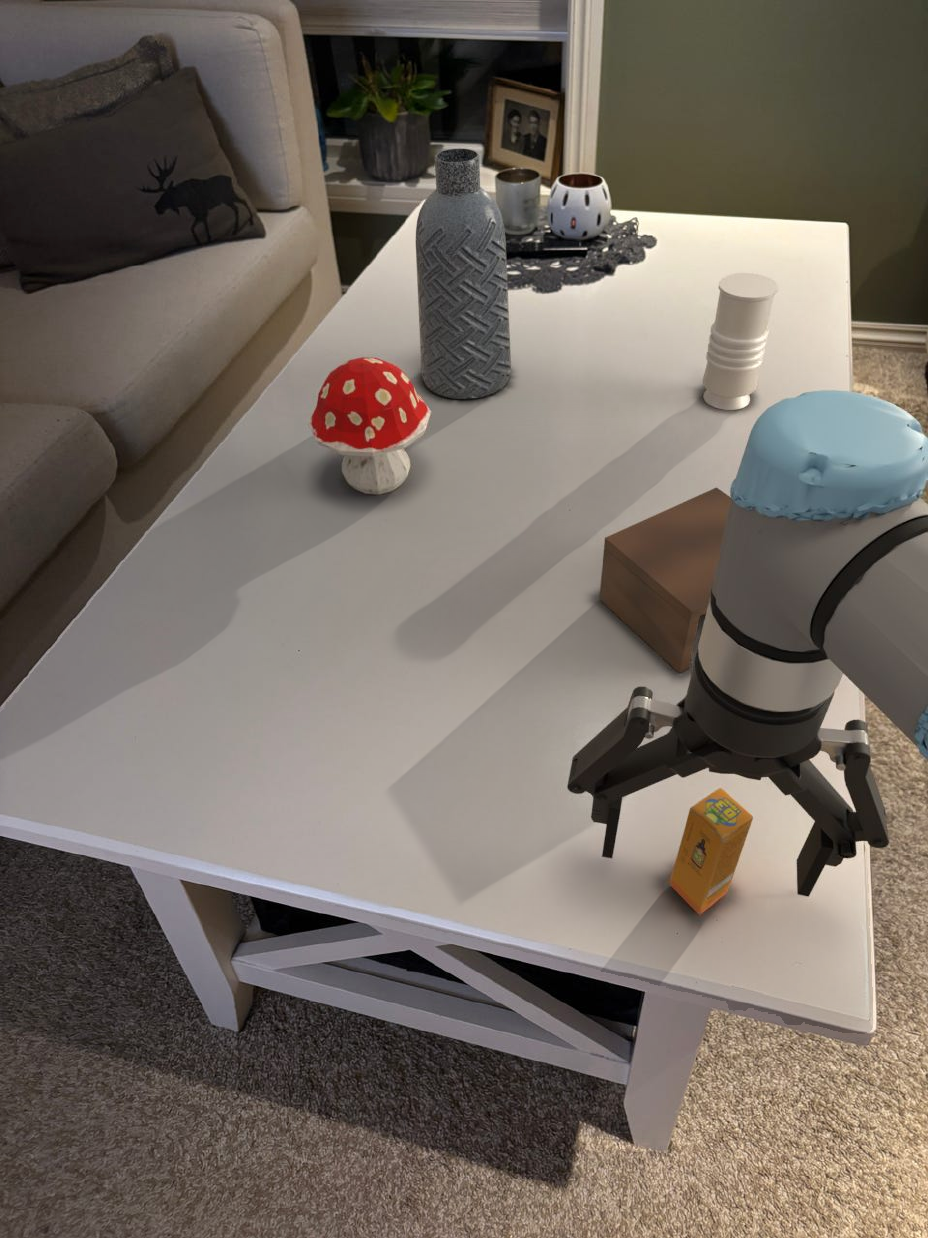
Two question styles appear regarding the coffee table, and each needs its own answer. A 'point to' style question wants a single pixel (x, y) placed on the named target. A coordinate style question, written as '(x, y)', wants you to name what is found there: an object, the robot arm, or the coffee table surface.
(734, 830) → the supplement box
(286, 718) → the coffee table surface
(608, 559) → the shelf
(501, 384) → the vase
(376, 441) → the decorative mushroom
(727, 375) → the white ribbed cylinder
